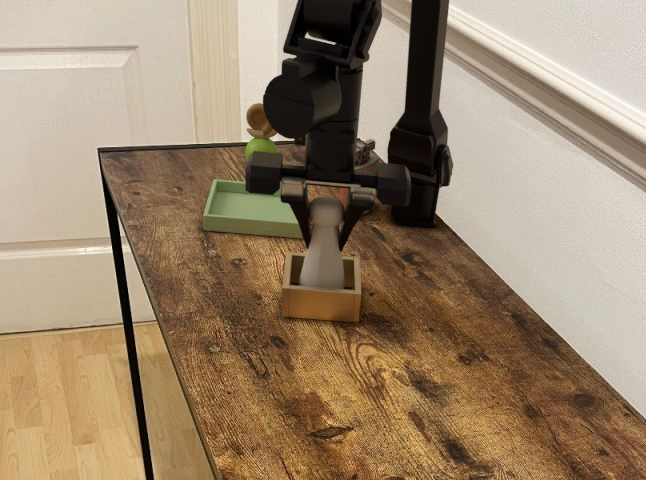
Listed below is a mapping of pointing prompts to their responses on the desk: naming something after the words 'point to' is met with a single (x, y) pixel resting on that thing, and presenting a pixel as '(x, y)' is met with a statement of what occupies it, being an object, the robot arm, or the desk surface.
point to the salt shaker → (324, 245)
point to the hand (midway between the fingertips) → (324, 249)
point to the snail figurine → (259, 131)
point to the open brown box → (321, 293)
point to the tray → (248, 212)
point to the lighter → (362, 163)
